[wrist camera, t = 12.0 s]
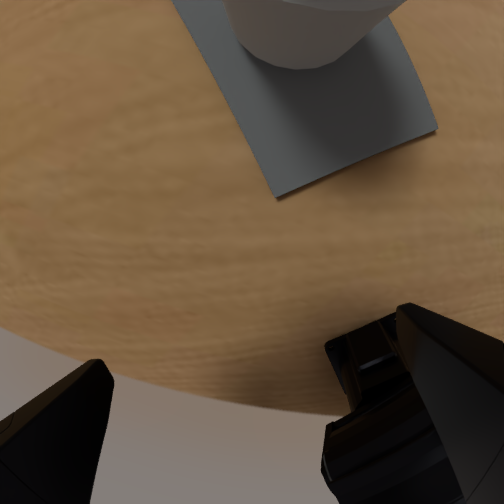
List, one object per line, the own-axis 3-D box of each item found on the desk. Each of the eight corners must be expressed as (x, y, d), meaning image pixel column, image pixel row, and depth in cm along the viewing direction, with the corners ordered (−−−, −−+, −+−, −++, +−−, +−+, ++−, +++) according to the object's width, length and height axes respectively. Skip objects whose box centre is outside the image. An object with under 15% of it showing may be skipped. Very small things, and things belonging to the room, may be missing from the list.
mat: (434, 128, 18) (438, 128, 17) (274, 196, 20) (274, 198, 20) (328, -66, 13) (329, -70, 12) (166, -10, 15) (163, -13, 15)
